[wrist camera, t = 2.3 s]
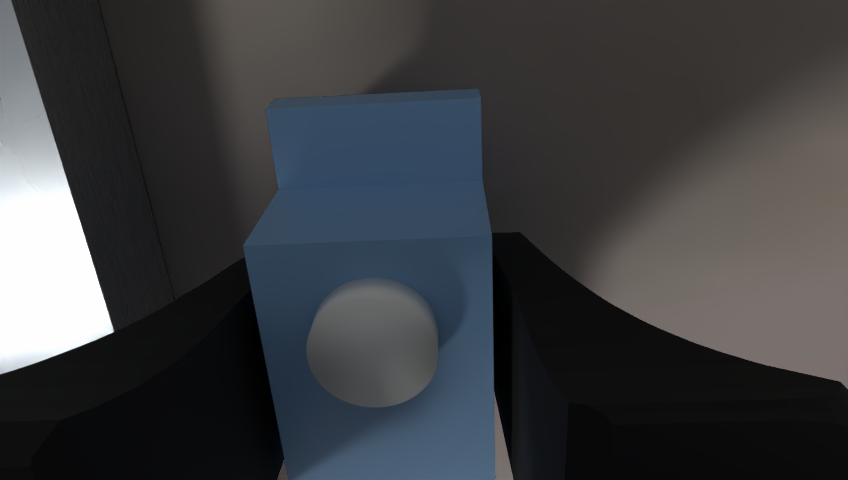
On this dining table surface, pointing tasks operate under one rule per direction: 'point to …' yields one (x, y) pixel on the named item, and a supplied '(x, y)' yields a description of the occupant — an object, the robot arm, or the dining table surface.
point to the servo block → (378, 287)
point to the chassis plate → (68, 188)
